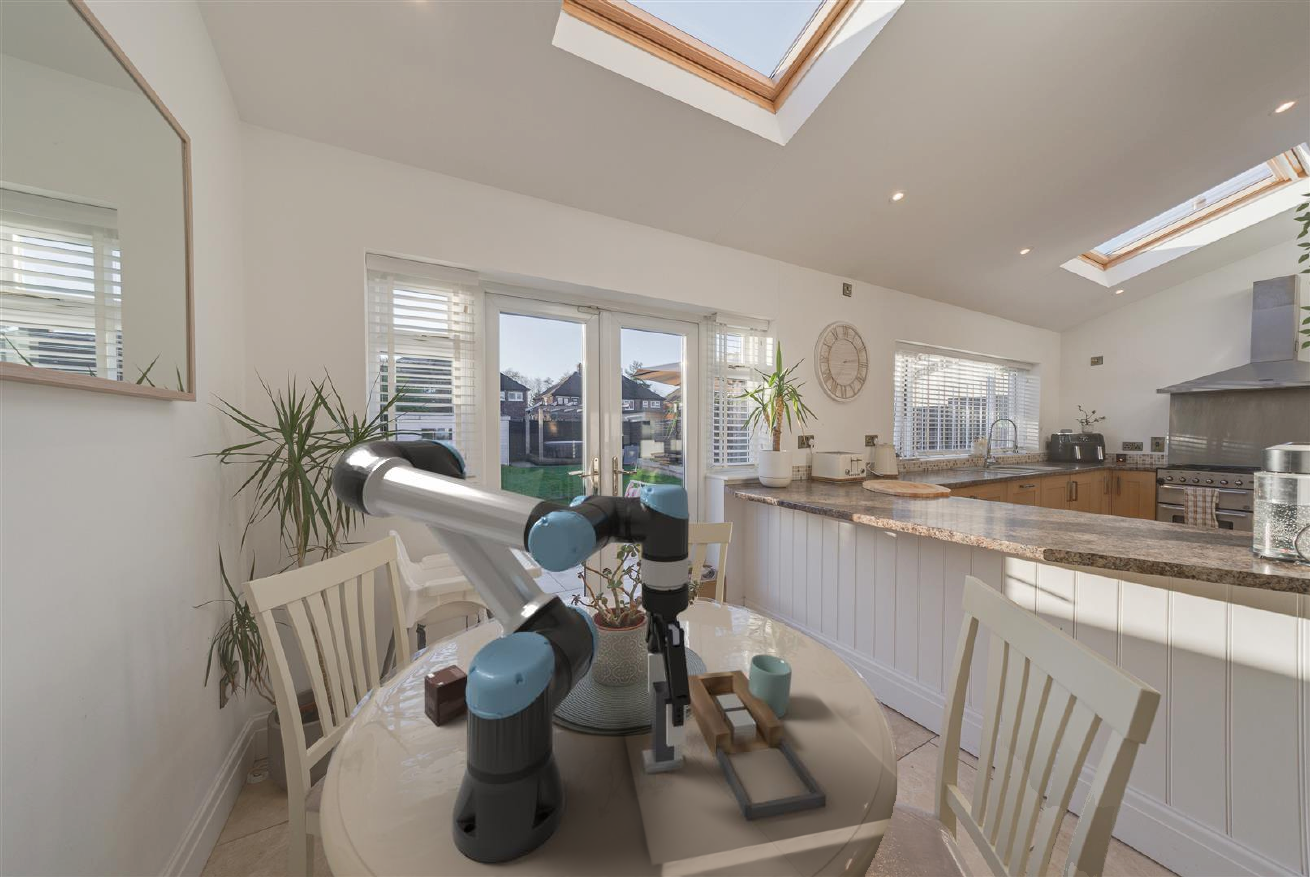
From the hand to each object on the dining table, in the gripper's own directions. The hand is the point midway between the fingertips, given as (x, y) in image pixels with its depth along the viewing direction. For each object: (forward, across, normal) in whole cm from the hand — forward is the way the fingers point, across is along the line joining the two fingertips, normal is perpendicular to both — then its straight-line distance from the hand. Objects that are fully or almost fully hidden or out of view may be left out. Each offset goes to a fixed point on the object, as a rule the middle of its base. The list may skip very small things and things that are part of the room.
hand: (665, 715), depth 71 cm
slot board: (+10, +9, -15) cm, 20 cm away
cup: (+10, +10, -23) cm, 27 cm away
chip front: (+8, +4, -15) cm, 17 cm away
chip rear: (+8, +9, -15) cm, 19 cm away
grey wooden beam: (+10, 0, 0) cm, 10 cm away
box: (+9, +23, +38) cm, 46 cm away
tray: (+10, -6, -15) cm, 19 cm away
